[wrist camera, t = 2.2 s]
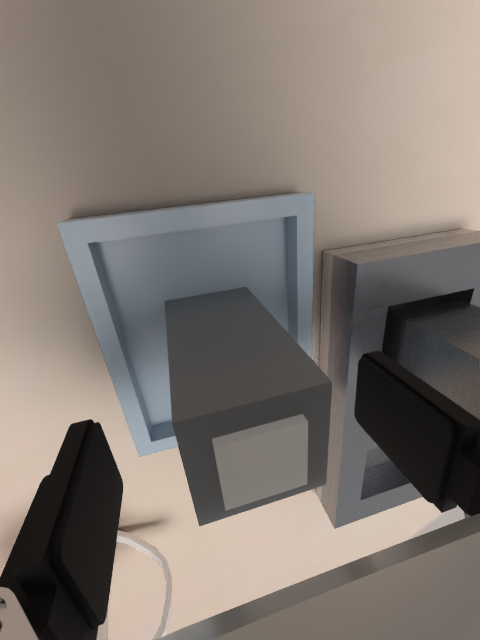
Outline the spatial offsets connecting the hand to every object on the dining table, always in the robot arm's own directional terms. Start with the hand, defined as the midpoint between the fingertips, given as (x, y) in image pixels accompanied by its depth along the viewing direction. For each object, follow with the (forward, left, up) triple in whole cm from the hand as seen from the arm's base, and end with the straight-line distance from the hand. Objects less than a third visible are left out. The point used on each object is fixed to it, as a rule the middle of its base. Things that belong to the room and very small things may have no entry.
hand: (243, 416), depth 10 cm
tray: (-1, 0, -6) cm, 6 cm away
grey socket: (+6, +11, -6) cm, 14 cm away
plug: (-1, 0, -6) cm, 6 cm away
